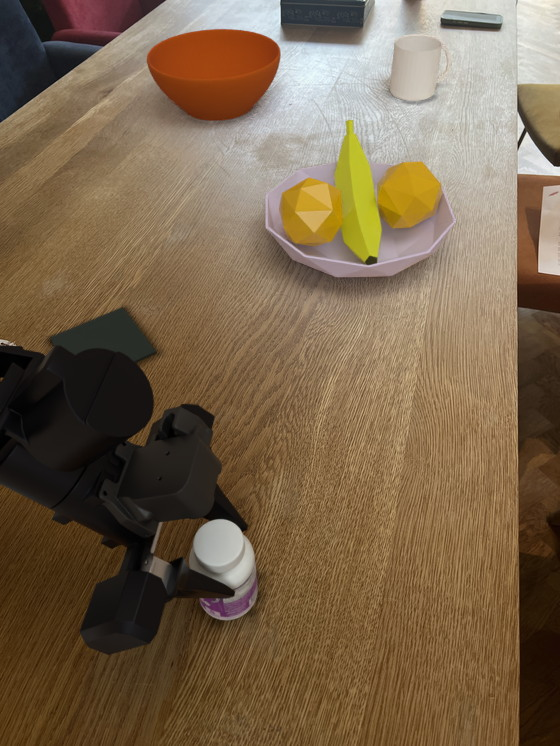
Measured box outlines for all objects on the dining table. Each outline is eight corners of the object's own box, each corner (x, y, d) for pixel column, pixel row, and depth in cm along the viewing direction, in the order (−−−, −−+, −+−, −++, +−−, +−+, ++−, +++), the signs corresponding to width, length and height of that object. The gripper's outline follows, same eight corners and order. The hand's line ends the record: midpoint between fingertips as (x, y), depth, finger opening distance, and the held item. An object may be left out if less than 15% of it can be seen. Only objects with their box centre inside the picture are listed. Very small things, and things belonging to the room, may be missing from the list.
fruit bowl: (437, 315, 79) (453, 241, 70) (238, 280, 84) (231, 208, 76) (459, 200, 97) (474, 131, 88) (294, 178, 102) (294, 111, 94)
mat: (79, 388, 72) (78, 385, 71) (50, 339, 77) (49, 337, 77) (156, 353, 75) (156, 350, 75) (123, 309, 81) (122, 306, 81)
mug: (393, 102, 121) (399, 52, 114) (385, 83, 127) (390, 35, 120) (453, 99, 121) (463, 49, 115) (443, 81, 128) (451, 32, 121)
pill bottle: (187, 587, 55) (170, 535, 48) (236, 553, 57) (226, 498, 50) (220, 635, 52) (207, 588, 45) (270, 598, 54) (266, 546, 47)
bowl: (279, 77, 131) (278, 26, 123) (283, 132, 114) (282, 76, 106) (162, 82, 131) (154, 31, 123) (148, 137, 114) (138, 82, 106)
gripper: (79, 571, 32) (293, 670, 38) (172, 326, 44) (321, 433, 51) (-8, 612, 38) (188, 689, 45) (94, 388, 51) (235, 476, 58)
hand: (238, 561), depth 50 cm, fingers closed on pill bottle, 5 cm apart
